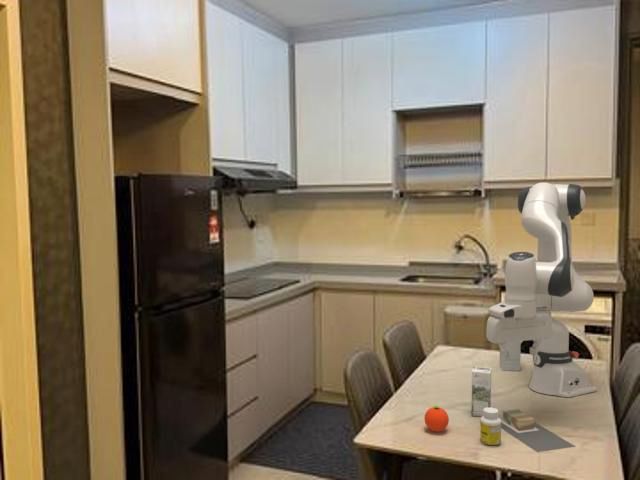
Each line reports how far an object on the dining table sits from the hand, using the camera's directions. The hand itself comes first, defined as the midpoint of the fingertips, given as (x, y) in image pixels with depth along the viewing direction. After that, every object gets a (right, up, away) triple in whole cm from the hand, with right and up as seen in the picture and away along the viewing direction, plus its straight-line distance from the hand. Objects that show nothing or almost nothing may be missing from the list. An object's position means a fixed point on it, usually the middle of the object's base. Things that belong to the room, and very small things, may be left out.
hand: (519, 355), depth 167 cm
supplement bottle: (-12, -23, -10) cm, 27 cm away
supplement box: (+17, -17, +60) cm, 65 cm away
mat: (+2, -22, -4) cm, 22 cm away
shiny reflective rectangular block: (0, -21, +1) cm, 21 cm away
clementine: (-24, -22, 0) cm, 33 cm away
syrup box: (-8, -21, +12) cm, 25 cm away
